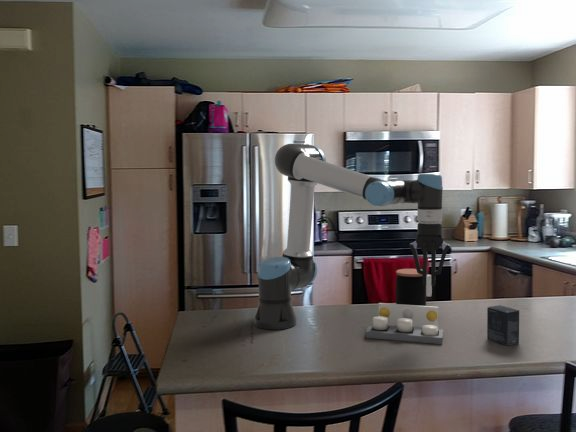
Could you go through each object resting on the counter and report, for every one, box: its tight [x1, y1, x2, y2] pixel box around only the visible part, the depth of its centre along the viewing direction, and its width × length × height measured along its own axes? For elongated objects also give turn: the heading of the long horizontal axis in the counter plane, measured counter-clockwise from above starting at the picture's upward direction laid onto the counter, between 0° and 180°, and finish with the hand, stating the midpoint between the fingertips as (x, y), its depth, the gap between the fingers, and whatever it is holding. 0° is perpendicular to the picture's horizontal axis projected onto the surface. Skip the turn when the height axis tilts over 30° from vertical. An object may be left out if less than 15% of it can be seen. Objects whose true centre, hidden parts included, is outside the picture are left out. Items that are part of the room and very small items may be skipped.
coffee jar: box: [395, 268, 427, 306], centre depth 188 cm, size 11×11×18 cm
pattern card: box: [378, 302, 439, 328], centre depth 179 cm, size 20×1×8 cm, turn 71°
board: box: [365, 323, 444, 345], centre depth 170 cm, size 24×9×2 cm, turn 71°
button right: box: [422, 325, 439, 336], centre depth 167 cm, size 5×5×3 cm
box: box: [486, 304, 520, 346], centre depth 163 cm, size 8×6×11 cm
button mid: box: [397, 318, 412, 332], centre depth 170 cm, size 5×5×3 cm
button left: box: [372, 315, 388, 330], centre depth 172 cm, size 5×5×3 cm
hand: (428, 295), depth 166 cm, fingers closed
